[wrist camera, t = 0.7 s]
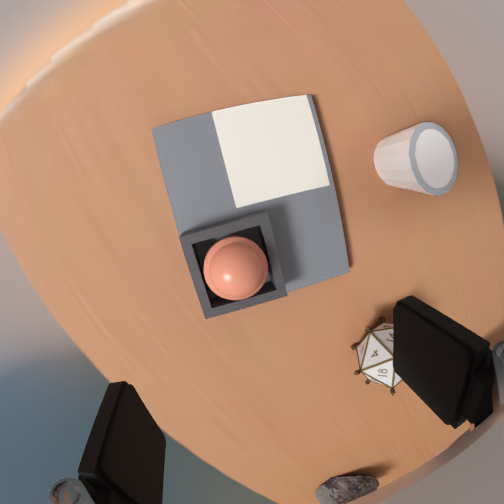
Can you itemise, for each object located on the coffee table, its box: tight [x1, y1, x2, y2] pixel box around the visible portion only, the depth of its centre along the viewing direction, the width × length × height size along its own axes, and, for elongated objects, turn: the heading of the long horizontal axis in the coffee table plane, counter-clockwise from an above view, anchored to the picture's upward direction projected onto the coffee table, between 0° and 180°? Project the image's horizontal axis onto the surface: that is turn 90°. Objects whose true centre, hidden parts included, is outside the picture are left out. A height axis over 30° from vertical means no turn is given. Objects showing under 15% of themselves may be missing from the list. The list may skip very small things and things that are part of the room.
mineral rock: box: [316, 475, 379, 504], centre depth 35 cm, size 13×11×10 cm
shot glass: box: [374, 122, 458, 196], centre depth 24 cm, size 7×7×7 cm
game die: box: [351, 317, 402, 395], centre depth 28 cm, size 9×8×10 cm
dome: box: [204, 235, 268, 300], centre depth 23 cm, size 5×5×4 cm
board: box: [152, 95, 350, 319], centre depth 25 cm, size 18×15×4 cm
